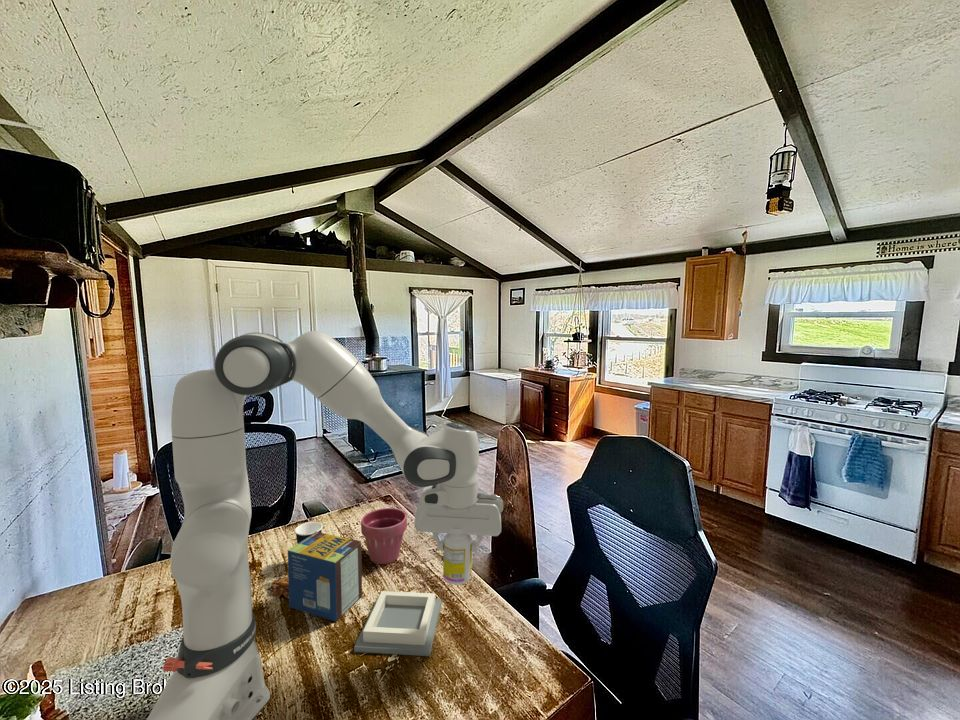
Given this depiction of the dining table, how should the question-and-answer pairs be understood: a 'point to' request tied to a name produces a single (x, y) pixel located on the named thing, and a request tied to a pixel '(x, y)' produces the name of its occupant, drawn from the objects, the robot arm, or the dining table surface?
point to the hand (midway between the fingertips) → (457, 550)
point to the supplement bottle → (457, 557)
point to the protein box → (325, 575)
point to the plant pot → (384, 533)
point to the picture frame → (400, 624)
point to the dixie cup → (307, 530)
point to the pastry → (278, 586)
